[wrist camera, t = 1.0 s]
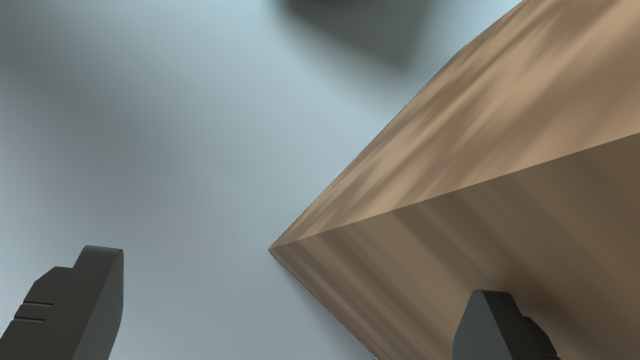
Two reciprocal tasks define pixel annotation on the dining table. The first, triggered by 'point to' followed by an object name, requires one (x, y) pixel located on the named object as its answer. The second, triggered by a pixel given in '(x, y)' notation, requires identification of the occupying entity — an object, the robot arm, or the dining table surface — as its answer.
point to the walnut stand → (495, 193)
